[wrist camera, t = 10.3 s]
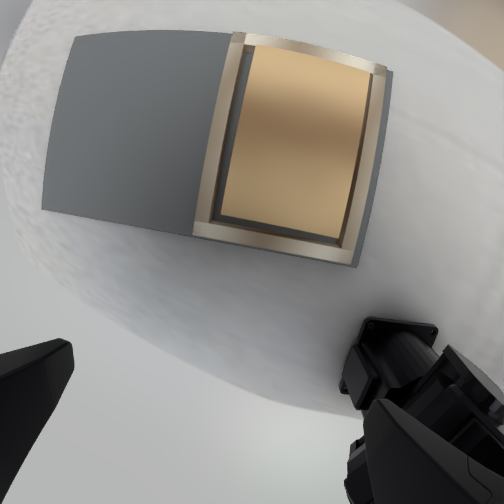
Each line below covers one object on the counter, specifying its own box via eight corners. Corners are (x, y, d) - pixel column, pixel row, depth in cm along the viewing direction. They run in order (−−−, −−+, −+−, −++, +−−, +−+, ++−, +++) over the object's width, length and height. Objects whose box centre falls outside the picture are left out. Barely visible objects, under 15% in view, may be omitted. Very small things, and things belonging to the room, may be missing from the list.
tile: (326, 228, 18) (338, 238, 15) (226, 208, 18) (220, 214, 15) (354, 86, 16) (370, 72, 13) (256, 63, 16) (256, 44, 13)
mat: (390, 74, 16) (393, 71, 16) (354, 265, 19) (356, 268, 19) (78, 38, 16) (75, 36, 15) (45, 208, 19) (41, 209, 18)
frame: (380, 72, 16) (386, 67, 15) (345, 259, 19) (350, 264, 17) (234, 39, 16) (232, 31, 14) (196, 231, 18) (192, 234, 17)
